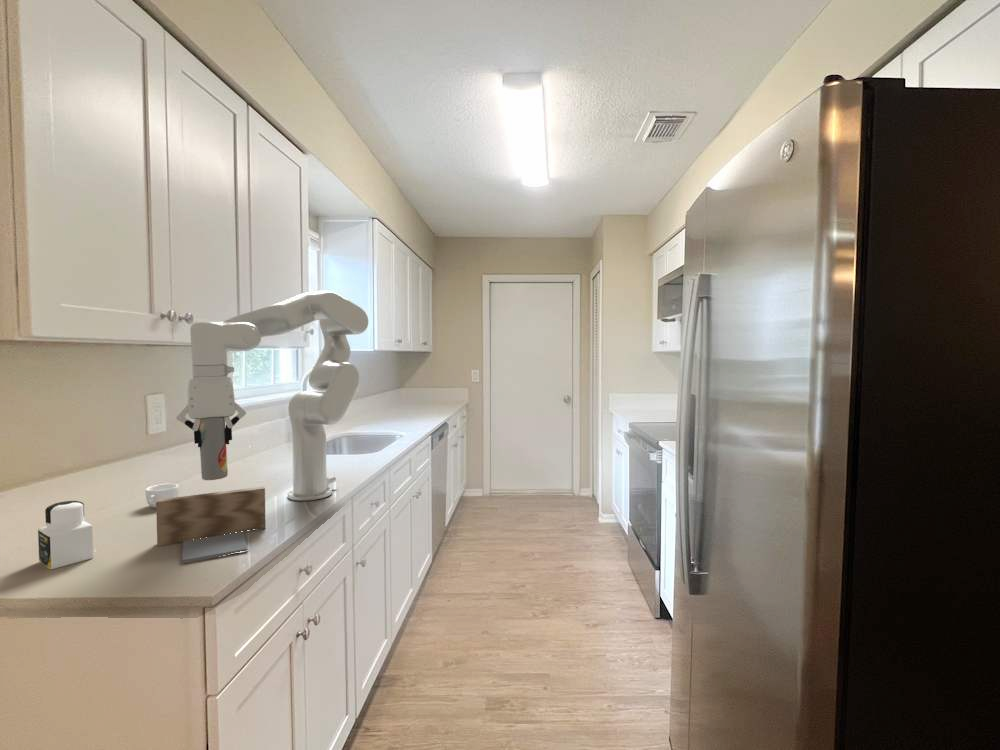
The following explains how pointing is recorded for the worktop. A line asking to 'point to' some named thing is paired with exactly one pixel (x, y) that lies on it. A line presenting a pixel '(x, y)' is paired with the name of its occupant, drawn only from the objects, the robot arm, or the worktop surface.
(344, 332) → the robot arm
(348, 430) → the worktop surface
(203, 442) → the lotion bottle
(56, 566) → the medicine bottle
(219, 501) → the brown wooden board
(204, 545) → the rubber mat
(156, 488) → the teacup
